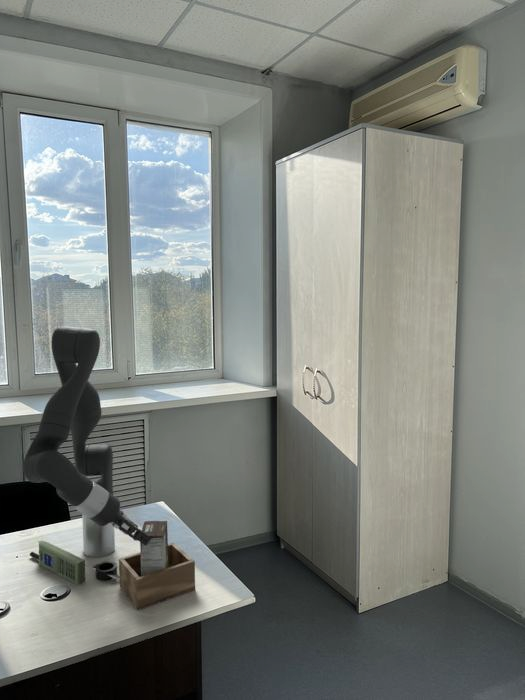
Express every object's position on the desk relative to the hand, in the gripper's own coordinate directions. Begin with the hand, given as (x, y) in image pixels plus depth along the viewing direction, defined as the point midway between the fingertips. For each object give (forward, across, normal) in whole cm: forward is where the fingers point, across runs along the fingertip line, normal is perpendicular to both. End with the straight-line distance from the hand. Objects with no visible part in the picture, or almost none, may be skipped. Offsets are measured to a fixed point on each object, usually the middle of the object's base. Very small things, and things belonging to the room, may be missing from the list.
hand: (141, 535), depth 137 cm
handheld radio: (0, +26, +23) cm, 35 cm away
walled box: (+14, 0, +8) cm, 16 cm away
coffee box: (+13, 0, +8) cm, 15 cm away
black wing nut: (+8, +14, +15) cm, 22 cm away
